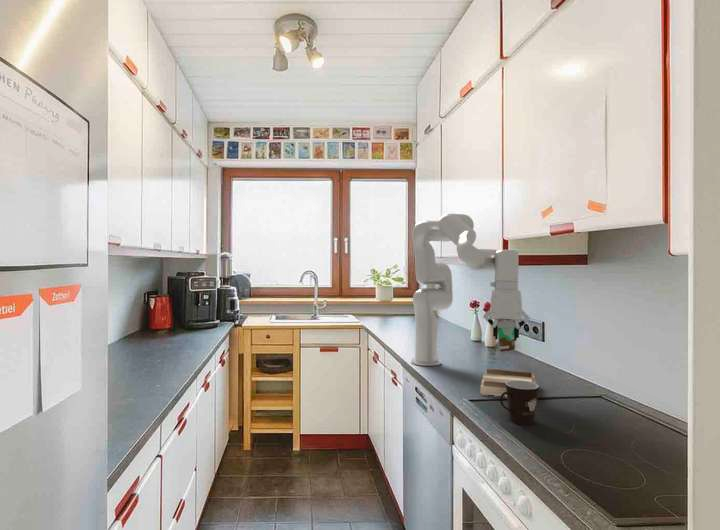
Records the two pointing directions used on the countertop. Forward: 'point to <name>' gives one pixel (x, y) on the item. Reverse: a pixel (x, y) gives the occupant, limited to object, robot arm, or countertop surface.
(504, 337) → the food container
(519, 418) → the coffee mug
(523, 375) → the dock
